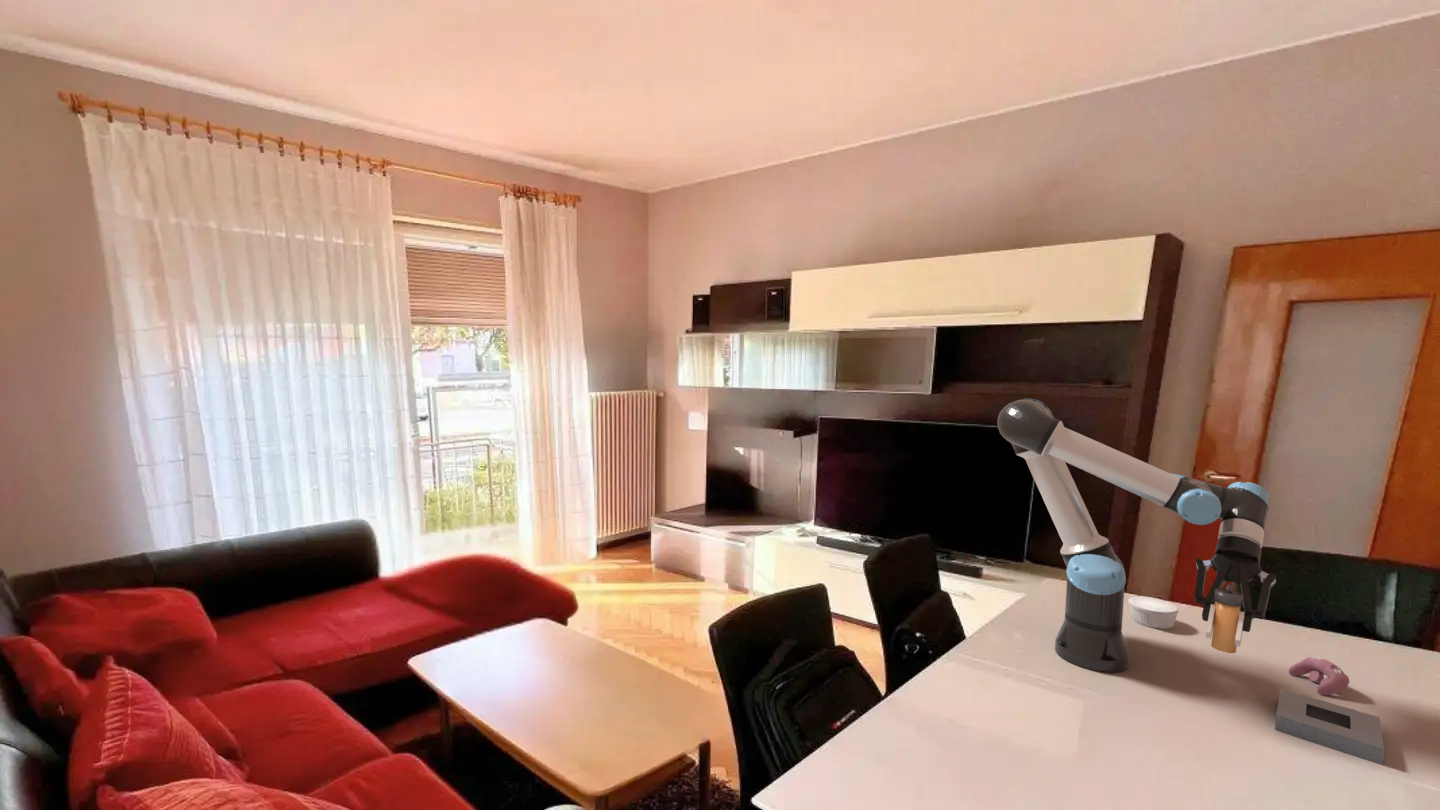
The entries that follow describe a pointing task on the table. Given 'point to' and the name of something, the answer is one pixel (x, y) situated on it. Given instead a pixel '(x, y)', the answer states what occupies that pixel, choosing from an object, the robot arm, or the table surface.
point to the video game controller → (1321, 674)
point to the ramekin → (1153, 612)
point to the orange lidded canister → (1226, 619)
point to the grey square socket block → (1330, 725)
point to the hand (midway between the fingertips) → (1222, 638)
